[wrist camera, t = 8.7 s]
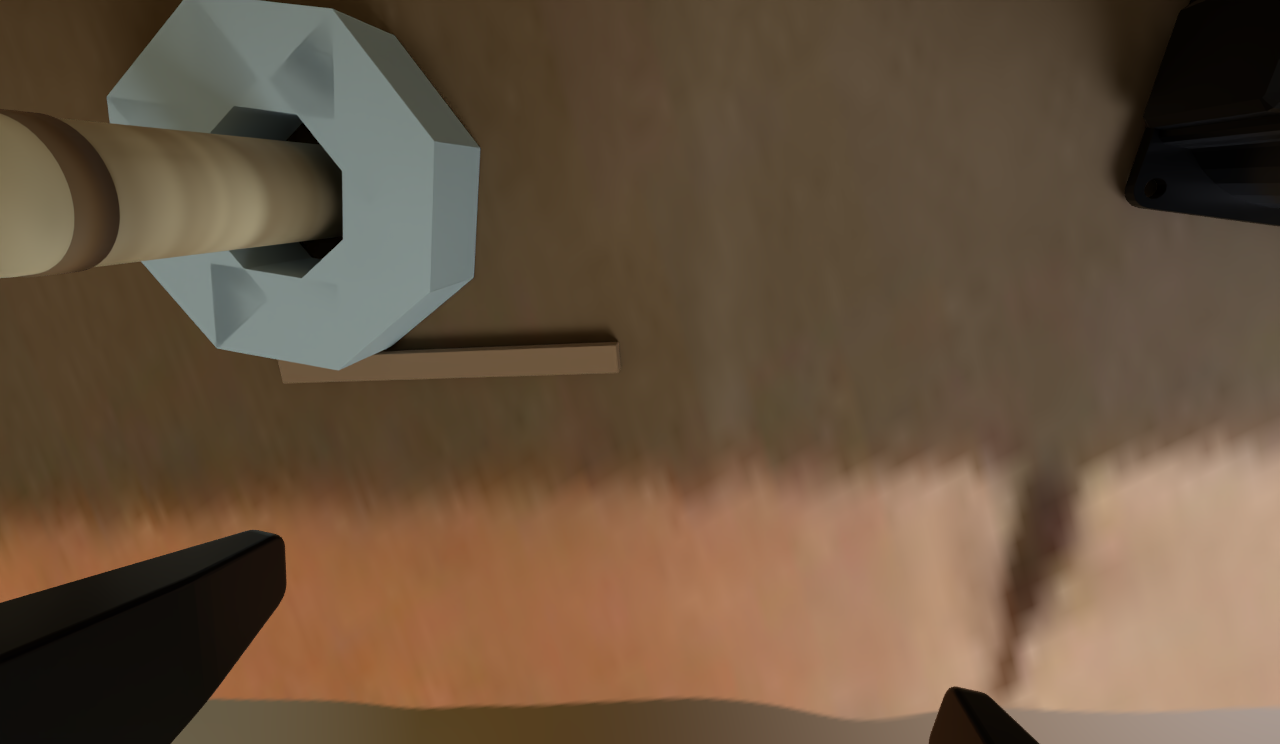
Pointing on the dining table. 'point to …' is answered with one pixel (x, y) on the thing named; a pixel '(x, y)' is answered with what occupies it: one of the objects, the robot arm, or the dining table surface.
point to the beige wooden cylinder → (152, 193)
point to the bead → (356, 141)
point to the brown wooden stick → (466, 363)
